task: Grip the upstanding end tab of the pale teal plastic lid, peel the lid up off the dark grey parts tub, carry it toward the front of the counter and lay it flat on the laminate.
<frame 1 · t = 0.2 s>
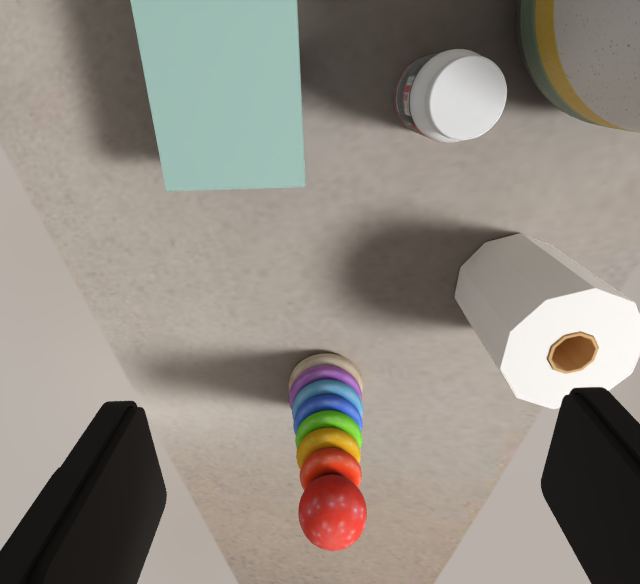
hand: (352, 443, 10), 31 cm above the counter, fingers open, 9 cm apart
toilet paper: (506, 283, 42), on the counter
pill bottle: (427, 95, 35), on the counter
stacking toy: (325, 379, 47), on the counter
lid: (224, 72, 28), point 6 cm above the counter, touching tub
vase: (609, 0, 32), on the counter
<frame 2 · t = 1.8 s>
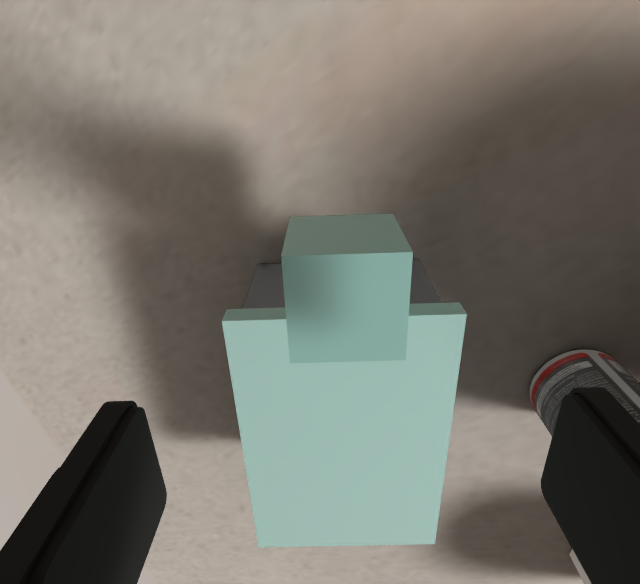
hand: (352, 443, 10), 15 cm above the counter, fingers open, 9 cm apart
tub: (339, 363, 27), on the counter
pill bottle: (569, 380, 28), on the counter
lid: (344, 434, 22), point 6 cm above the counter, touching tub
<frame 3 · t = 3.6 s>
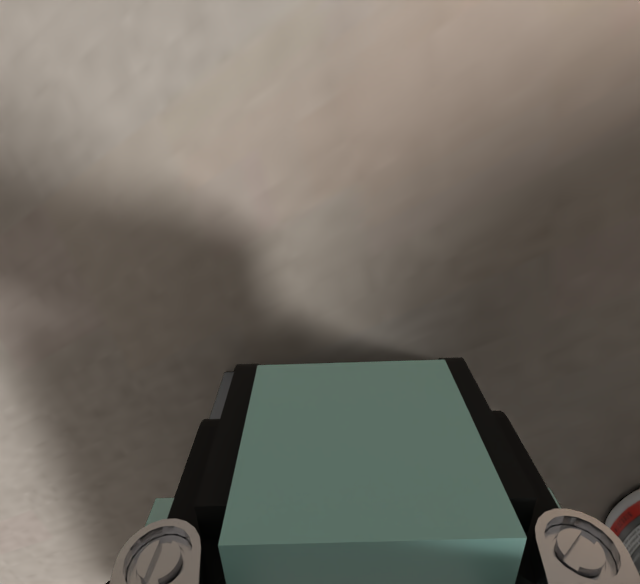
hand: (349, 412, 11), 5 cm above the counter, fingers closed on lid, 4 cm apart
tub: (343, 495, 20), on the counter
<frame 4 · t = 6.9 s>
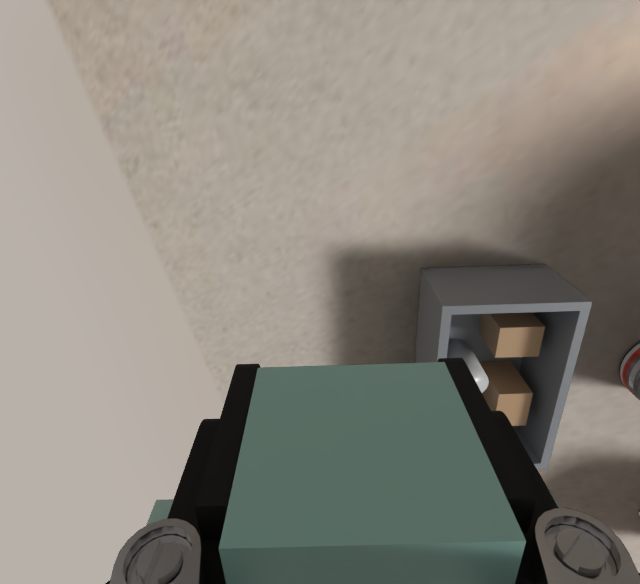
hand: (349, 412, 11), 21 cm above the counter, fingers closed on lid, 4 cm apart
tub: (471, 347, 34), on the counter
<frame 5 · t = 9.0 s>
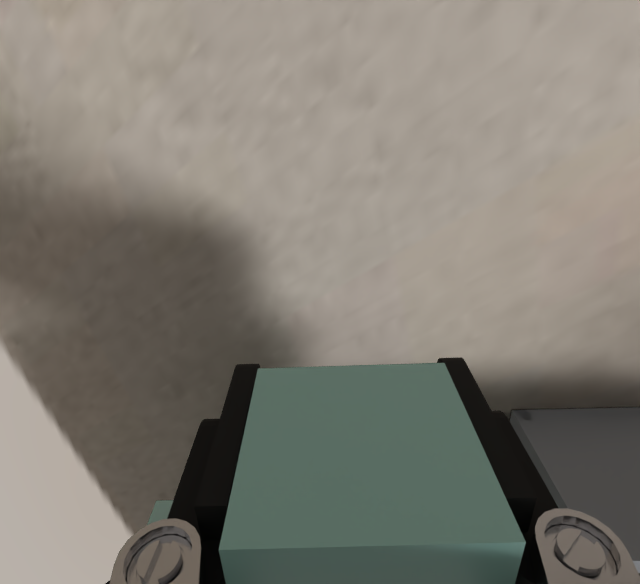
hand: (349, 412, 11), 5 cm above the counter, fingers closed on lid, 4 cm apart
tub: (584, 522, 20), on the counter
when the fingers open (1 cm above the counter, at t = 10.5 s): lid drops 2 cm, on the counter.
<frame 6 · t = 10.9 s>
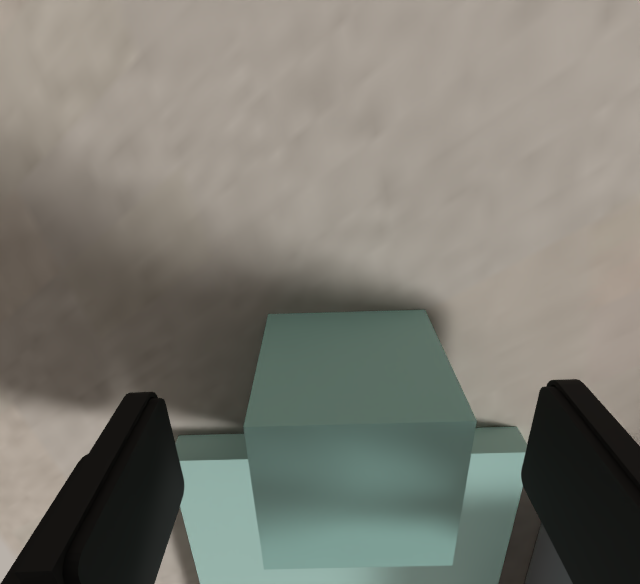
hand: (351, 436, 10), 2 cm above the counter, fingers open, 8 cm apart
lid: (347, 582, 16), on the counter
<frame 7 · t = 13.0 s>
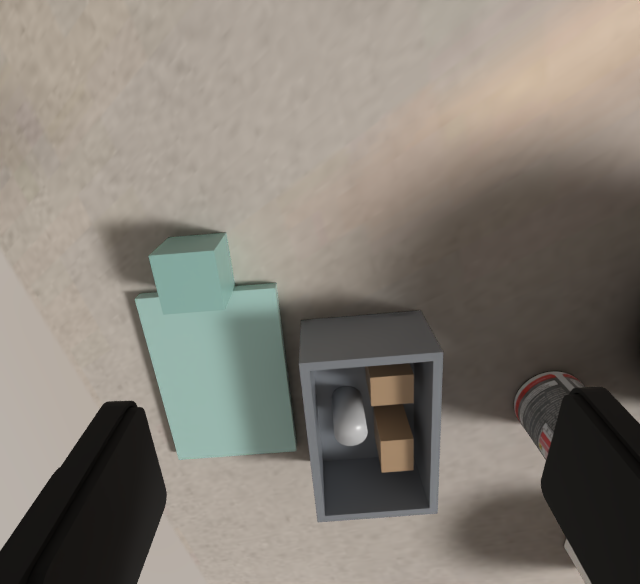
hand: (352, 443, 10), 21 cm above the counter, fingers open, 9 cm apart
tub: (364, 392, 35), on the counter
pill bottle: (545, 396, 36), on the counter
lid: (225, 374, 34), on the counter
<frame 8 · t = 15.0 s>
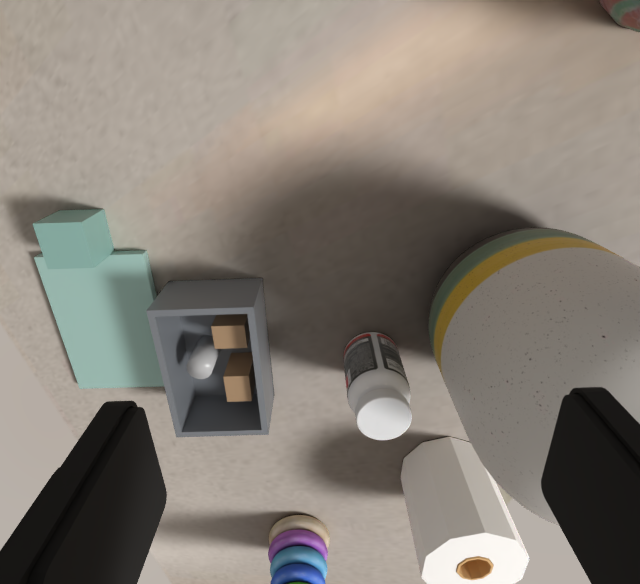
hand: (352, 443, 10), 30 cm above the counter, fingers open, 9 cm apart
toilet paper: (441, 466, 52), on the counter
tub: (225, 341, 44), on the counter
pill bottle: (370, 352, 45), on the counter
stacking toy: (299, 530, 57), on the counter
lid: (113, 321, 43), on the counter
vase: (503, 297, 42), on the counter
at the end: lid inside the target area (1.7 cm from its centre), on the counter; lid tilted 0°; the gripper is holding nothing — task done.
